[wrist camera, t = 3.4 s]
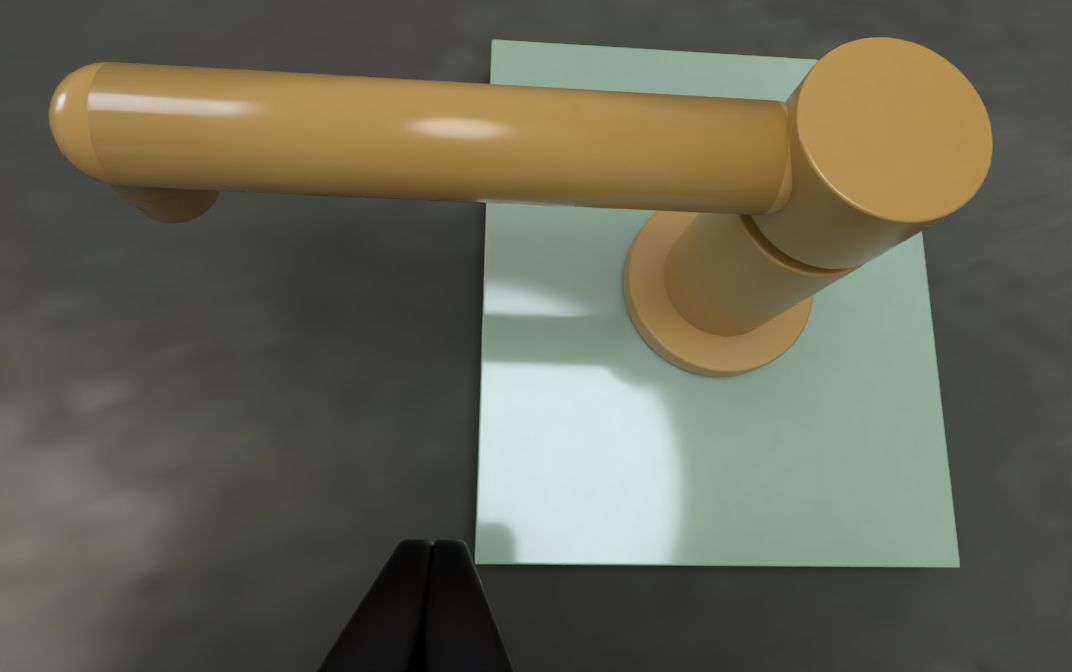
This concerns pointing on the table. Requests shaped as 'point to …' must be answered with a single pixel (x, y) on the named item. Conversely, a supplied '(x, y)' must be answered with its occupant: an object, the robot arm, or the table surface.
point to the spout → (552, 144)
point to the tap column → (717, 292)
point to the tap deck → (696, 386)
